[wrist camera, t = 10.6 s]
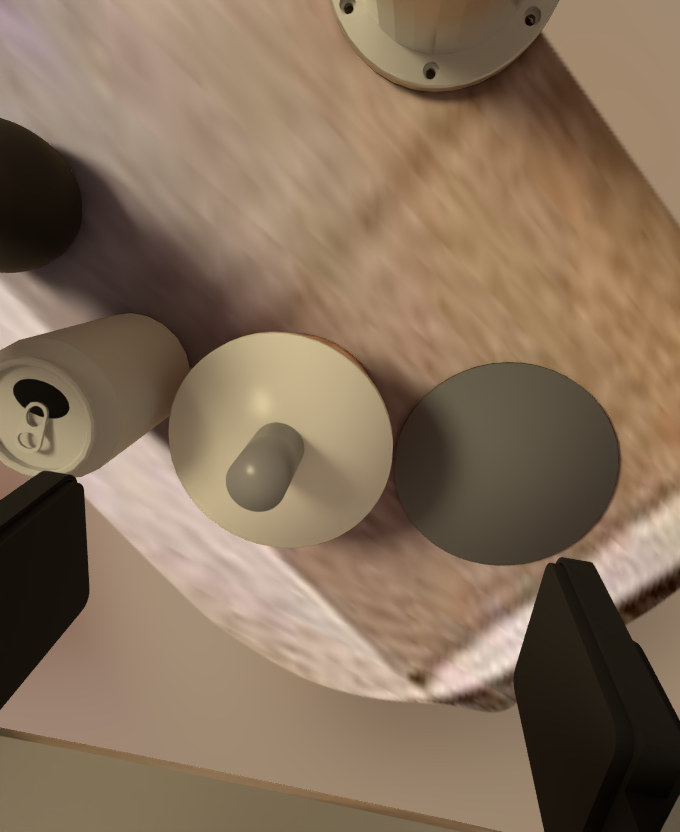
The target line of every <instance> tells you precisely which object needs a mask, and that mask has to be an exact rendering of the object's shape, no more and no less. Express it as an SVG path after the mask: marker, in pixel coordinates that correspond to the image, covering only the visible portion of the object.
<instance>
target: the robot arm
mask: <svg viewBox="0 0 680 832" xmlns="http://www.w3.org/2000/svg"><path fill="white" fill-rule="evenodd" d="M330 2H331V6H332V9H333V12H334V15H335V17H336V19H337V21H338V23H339V26H340V28H341V30H342V32H343V35H344V36H345V38H346V39H347V41H348V42H349V43H350V45H351V46H352V48H353V49H354V51H355V52H356V54H357V55H358V56H359V57H360V58H361V59H362V60H363V61H364V62H365V63H366V64H367V65H369V66H370V67H371V68H372V69H373V70H374V71H375V72H377V73H379V74H380V75H382V76H383V77H385V78H387V79H388V80H390V81H391V82H393V83H396V84H399V85H402V86H405V87H407V88H410V89H414V90H421V91H429V92H441V91H453V90H459V89H462V88H465V87H469V86H472V85H475V84H478V83H480V82H482V81H484V80H486V79H488V78H490V77H492V76H494V75H496V74H498V73H499V72H501V71H502V70H503V69H504V68H506V67H507V66H508V65H510V64H511V63H512V62H513V61H515V60H516V59H517V58H519V57H520V55H521V54H522V53H523V52H524V51H525V50H526V49H527V48H528V47H529V46H530V44H531V43H532V42H533V41H534V40H535V39H536V38H537V36H538V35H539V34H540V32H541V31H542V29H543V28H544V26H545V25H546V23H547V22H548V20H549V18H550V16H551V15H552V13H553V11H554V9H555V7H556V5H557V3H558V2H559V0H330ZM347 6H352V7H353V8H354V10H353V12H352V13H351V14H346V13H345V8H346V7H347ZM528 17H530V18H532V19H533V21H534V24H533V25H532V26H528V25H526V23H525V19H526V18H528ZM430 70H432V71H434V72H435V77H434V78H433V79H428V78H427V77H426V73H427V72H428V71H430ZM88 574H89V573H88V555H87V537H86V518H85V500H84V488H83V486H82V484H80V483H77V480H76V478H75V476H73V475H70V474H64V473H58V472H52V471H42V472H40V473H38V474H37V475H35V476H34V477H33V478H31V479H30V480H28V481H27V482H26V483H24V484H23V485H21V486H20V487H18V488H17V489H16V490H14V491H13V492H11V493H10V494H9V495H7V496H6V497H4V498H3V499H1V500H0V709H1V708H2V707H3V706H4V705H5V704H6V702H7V701H8V700H9V699H10V697H11V696H12V695H13V694H14V692H15V691H16V690H17V689H18V688H19V687H20V685H21V684H22V683H23V682H24V680H25V679H26V678H27V677H28V676H29V674H30V673H31V672H32V671H33V669H34V668H35V667H36V666H37V665H38V663H39V662H40V661H41V660H42V659H43V657H44V656H45V655H46V654H47V653H48V651H49V650H50V649H51V647H52V646H53V645H54V644H55V643H56V641H57V640H58V639H59V638H60V637H61V635H62V634H63V633H64V632H65V631H66V629H67V628H68V627H69V626H70V625H71V623H72V622H73V621H74V619H75V618H76V617H77V616H78V615H79V614H80V612H81V611H82V610H83V609H84V607H85V605H86V603H87V600H88V597H89V575H88ZM514 690H515V695H516V700H517V705H518V709H519V714H520V719H521V724H522V728H523V733H524V738H525V742H526V747H527V752H528V757H529V761H530V766H531V770H532V776H533V780H534V785H535V790H536V794H537V799H538V804H539V809H540V813H541V818H542V822H543V827H544V832H680V720H679V718H678V716H677V714H676V712H675V710H674V709H673V707H672V705H671V703H670V701H669V699H668V697H667V695H666V693H665V691H664V689H663V688H662V686H661V684H660V682H659V680H658V678H657V676H656V674H655V672H654V670H653V668H652V667H651V665H650V663H649V661H648V659H647V657H646V655H645V653H644V651H643V650H642V648H641V647H640V645H639V644H638V643H636V642H635V641H633V640H632V638H631V636H630V635H629V632H628V630H627V628H626V626H625V625H624V623H623V621H622V619H621V617H620V615H619V613H618V611H617V609H616V607H615V605H614V603H613V601H612V599H611V597H610V595H609V593H608V591H607V589H606V587H605V585H604V583H603V581H602V579H601V577H600V575H599V574H598V572H597V570H596V568H595V566H594V565H593V563H591V562H587V561H581V560H575V559H569V558H563V557H561V558H559V559H558V560H557V562H556V564H553V563H549V564H548V565H547V566H546V568H545V571H544V575H543V578H542V581H541V585H540V588H539V591H538V594H537V598H536V601H535V604H534V608H533V611H532V614H531V618H530V621H529V624H528V628H527V631H526V634H525V638H524V641H523V644H522V648H521V651H520V654H519V658H518V661H517V664H516V668H515V672H514ZM0 832H501V831H496V830H492V829H488V828H484V827H479V826H475V825H470V824H466V823H462V822H457V821H453V820H449V819H444V818H439V817H434V816H429V815H425V814H420V813H415V812H411V811H406V810H401V809H396V808H392V807H386V806H382V805H377V804H373V803H368V802H363V801H358V800H353V799H349V798H344V797H339V796H334V795H330V794H325V793H320V792H316V791H311V790H306V789H301V788H297V787H292V786H287V785H282V784H277V783H272V782H268V781H263V780H258V779H253V778H248V777H243V776H238V775H233V774H229V773H224V772H219V771H214V770H209V769H204V768H199V767H195V766H190V765H185V764H180V763H175V762H169V761H165V760H160V759H155V758H150V757H146V756H140V755H135V754H131V753H126V752H121V751H116V750H111V749H106V748H101V747H96V746H91V745H86V744H81V743H76V742H70V741H66V740H61V739H55V738H50V737H45V736H40V735H35V734H30V733H25V732H20V731H15V730H10V729H5V728H0Z"/></svg>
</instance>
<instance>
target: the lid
mask: <svg viewBox="0 0 680 832" xmlns="http://www.w3.org/2000/svg"><path fill="white" fill-rule="evenodd" d="M168 434H169V447H170V452H171V457H172V461H173V464H174V467H175V470H176V473H177V475H178V477H179V479H180V481H181V483H182V485H183V487H184V489H185V490H186V492H187V493H188V495H189V496H190V498H191V499H192V500H193V502H194V503H195V504H196V505H197V506H198V508H199V509H200V510H201V511H202V512H203V513H205V514H206V515H207V516H208V517H209V518H210V519H211V520H212V521H214V522H215V523H216V524H218V525H219V526H220V527H222V528H224V529H225V530H227V531H229V532H230V533H232V534H234V535H236V536H238V537H241V538H243V539H245V540H248V541H251V542H254V543H257V544H261V545H266V546H271V547H281V548H299V547H306V546H313V545H316V544H320V543H324V542H327V541H329V540H332V539H334V538H336V537H339V536H340V535H342V534H344V533H345V532H347V531H349V530H350V529H352V528H353V527H354V526H356V525H357V524H358V523H359V522H361V521H362V520H363V519H364V518H365V516H366V515H367V514H368V513H369V512H370V511H371V510H372V508H373V507H374V506H375V504H376V503H377V502H378V500H379V498H380V496H381V494H382V492H383V491H384V489H385V486H386V483H387V480H388V477H389V474H390V469H391V464H392V453H393V436H392V427H391V422H390V418H389V414H388V411H387V409H386V406H385V403H384V401H383V399H382V397H381V395H380V393H379V391H378V389H377V388H376V386H375V385H374V383H373V382H372V381H371V379H370V378H369V376H368V375H367V374H366V373H365V372H364V371H363V370H362V369H361V368H360V366H359V365H358V364H356V363H355V362H354V361H353V360H352V359H350V358H349V357H348V356H347V355H346V354H344V353H343V352H341V351H339V350H338V349H336V348H335V347H333V346H331V345H329V344H327V343H325V342H323V341H320V340H318V339H315V338H312V337H309V336H306V335H302V334H296V333H291V332H276V331H272V332H260V333H255V334H250V335H246V336H242V337H240V338H237V339H234V340H232V341H229V342H228V343H226V344H224V345H222V346H220V347H219V348H217V349H215V350H213V351H212V352H211V353H209V354H208V355H207V356H205V357H204V358H203V359H201V360H200V361H199V362H198V363H197V364H196V365H195V366H194V367H193V368H192V369H191V371H190V372H189V373H188V375H187V376H186V378H185V379H184V380H183V382H182V384H181V386H180V388H179V390H178V391H177V393H176V396H175V399H174V402H173V405H172V409H171V413H170V418H169V432H168Z"/></svg>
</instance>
